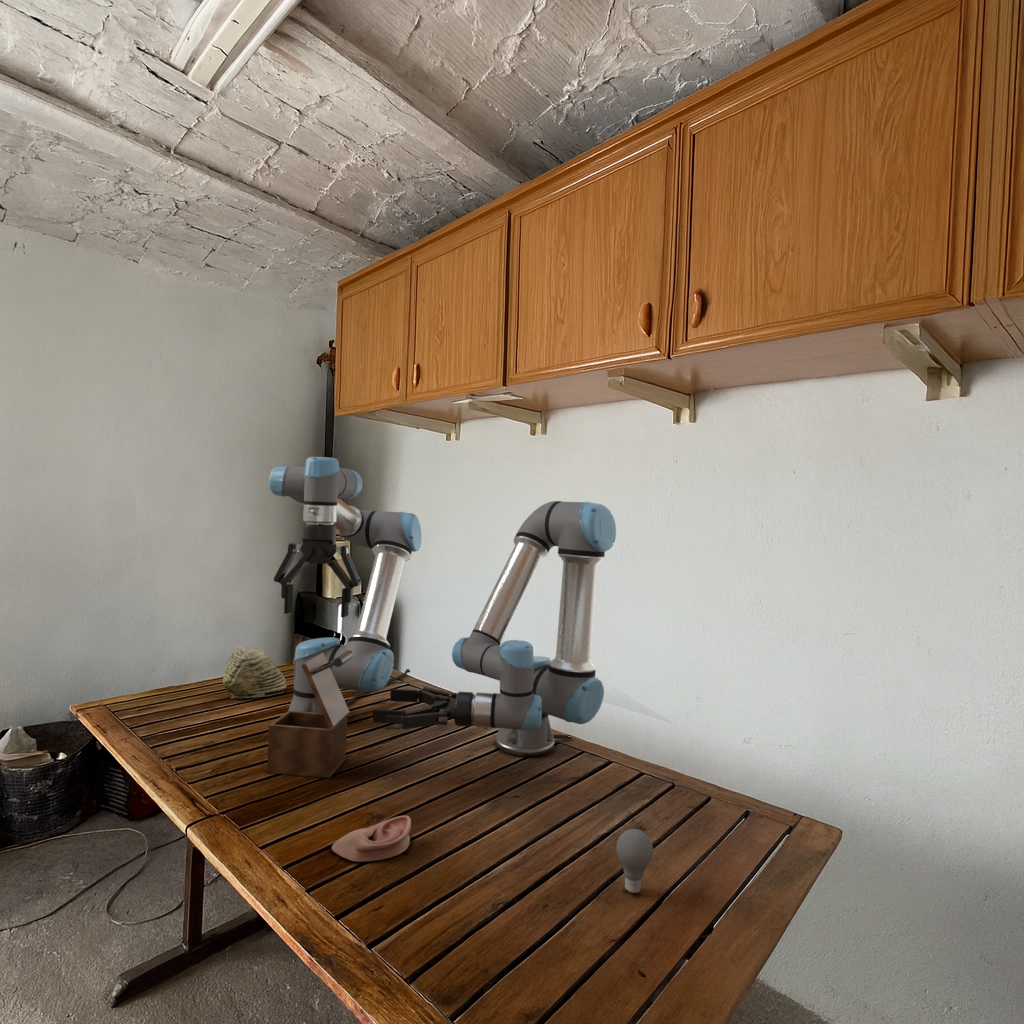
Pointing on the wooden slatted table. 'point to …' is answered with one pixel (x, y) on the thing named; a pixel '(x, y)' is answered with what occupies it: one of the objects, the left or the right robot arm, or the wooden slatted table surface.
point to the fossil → (252, 674)
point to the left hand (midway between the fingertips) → (316, 614)
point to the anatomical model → (375, 841)
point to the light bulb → (634, 857)
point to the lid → (327, 686)
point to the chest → (306, 745)
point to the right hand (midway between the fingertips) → (382, 704)
